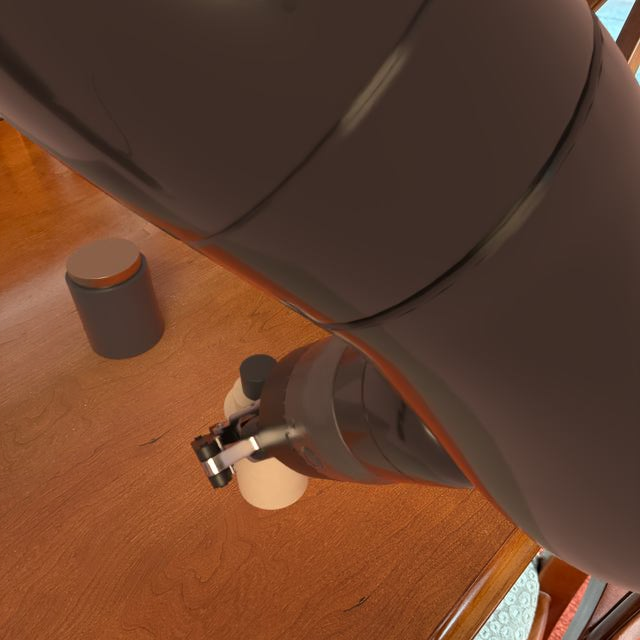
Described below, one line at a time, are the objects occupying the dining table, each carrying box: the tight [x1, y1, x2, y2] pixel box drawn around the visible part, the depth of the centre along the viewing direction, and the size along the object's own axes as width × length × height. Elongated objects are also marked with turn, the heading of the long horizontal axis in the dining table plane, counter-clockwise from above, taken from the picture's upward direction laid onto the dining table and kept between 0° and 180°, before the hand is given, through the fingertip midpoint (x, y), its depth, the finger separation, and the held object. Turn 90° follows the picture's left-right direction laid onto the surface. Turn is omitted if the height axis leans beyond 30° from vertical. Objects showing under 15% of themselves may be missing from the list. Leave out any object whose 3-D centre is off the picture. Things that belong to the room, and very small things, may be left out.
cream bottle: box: [223, 353, 310, 511], centre depth 44 cm, size 6×6×12 cm
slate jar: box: [64, 237, 165, 360], centre depth 71 cm, size 9×9×12 cm
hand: (254, 418), depth 45 cm, fingers closed on cream bottle, 5 cm apart
